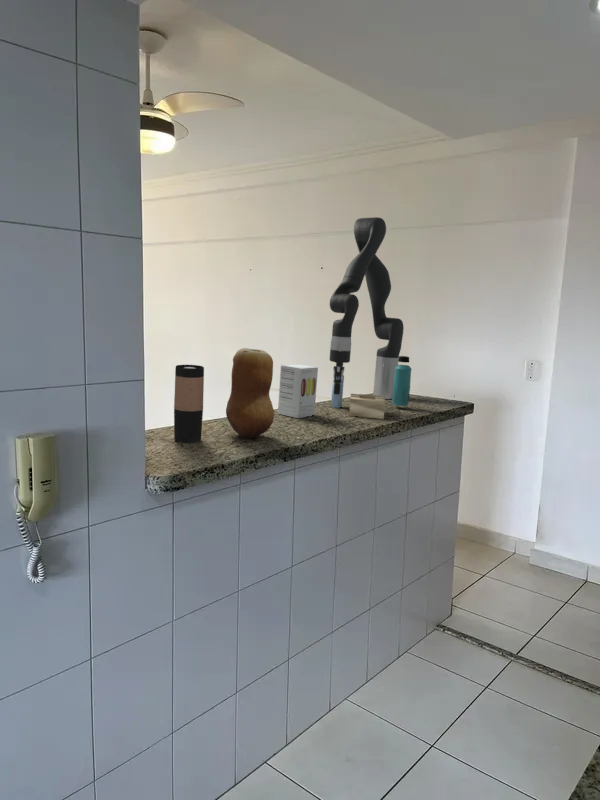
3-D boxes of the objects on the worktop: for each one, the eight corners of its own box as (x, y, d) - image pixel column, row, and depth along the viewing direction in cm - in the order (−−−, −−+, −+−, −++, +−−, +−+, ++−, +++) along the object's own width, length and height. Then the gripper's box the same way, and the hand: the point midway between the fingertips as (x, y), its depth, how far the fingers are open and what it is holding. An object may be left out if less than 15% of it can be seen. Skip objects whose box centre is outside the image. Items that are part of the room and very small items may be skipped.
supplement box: (297, 418, 196) (301, 368, 193) (276, 414, 202) (279, 364, 199) (315, 415, 204) (318, 366, 200) (294, 410, 209) (297, 363, 206)
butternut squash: (282, 438, 168) (287, 351, 164) (245, 445, 159) (249, 352, 154) (250, 428, 178) (255, 345, 173) (214, 434, 168) (217, 346, 164)
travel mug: (167, 438, 161) (169, 365, 157) (191, 434, 166) (193, 364, 162) (183, 444, 155) (185, 369, 152) (207, 440, 161) (210, 367, 157)
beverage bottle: (409, 410, 224) (414, 357, 220) (392, 409, 224) (396, 356, 220) (406, 407, 230) (411, 355, 227) (389, 406, 230) (394, 354, 227)
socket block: (349, 409, 218) (350, 393, 217) (382, 412, 217) (383, 396, 216) (349, 416, 206) (350, 399, 205) (383, 418, 205) (385, 401, 204)
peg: (331, 405, 223) (333, 374, 221) (341, 406, 223) (344, 374, 221) (330, 407, 219) (333, 375, 217) (341, 408, 219) (343, 376, 217)
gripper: (331, 346, 225) (327, 388, 227) (329, 349, 211) (325, 394, 213) (351, 348, 224) (347, 390, 227) (350, 351, 210) (346, 396, 213)
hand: (337, 392), depth 220 cm, fingers open, 8 cm apart
